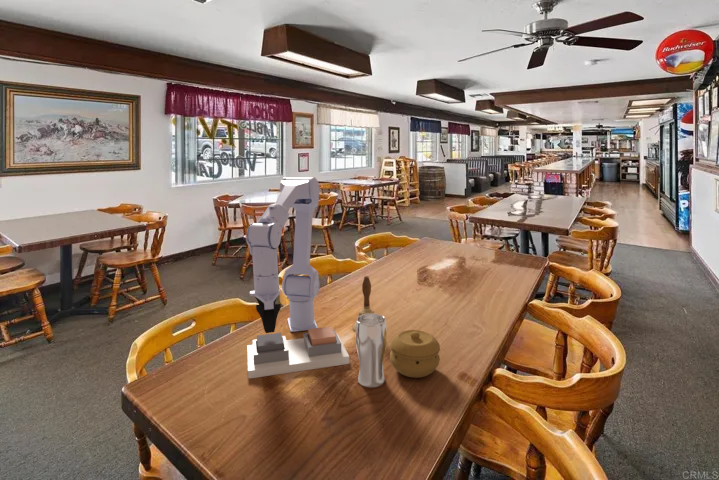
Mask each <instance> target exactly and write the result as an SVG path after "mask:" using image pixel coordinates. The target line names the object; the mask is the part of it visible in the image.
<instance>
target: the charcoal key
mask: <svg viewBox="0 0 719 480" xmlns="http://www.w3.org/2000/svg"><path fill="white" fill-rule="evenodd" d="M282 336H283V335H282V332H276V333H274V332H273V333H265V334H261V335H260V334H259V335H256V339H257V346H258V353H261V352H268V351H276V350H283V349H284V348H283V340H282Z"/></svg>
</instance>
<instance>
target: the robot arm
mask: <svg viewBox="0 0 719 480" xmlns="http://www.w3.org/2000/svg"><path fill="white" fill-rule="evenodd" d="M279 192H280V193H279V195H278V197H277V199H276V201H275V203H270V204H269V205H268V207H267V208H266V209H265V211H264V212H263V213H262V215H261V217H260V218H259V219H258V221H257V222H254V223H252V224H250V225H249V226H248V227H247V231H246V237H245V241H246V244H247V246H248V249H249V254H250V255H251V256H252V271H253V285H254V287H253V288H254V290H250V291H249V297H255V299H256V301H257V303H258V304H255V310H256V312H257V313H258V315H259V316H260V319H261V323H262V327H263V330H264V333H265V334H272V333H274V332H275V331H276V326H277V318H278V315H279V313H280V311H281V308H282V305H281V303H276V301H277V298H278V296H279V295H280V294H281V289H282V293H283V295H284V296H286V299H287V300H288V303H289V304H288V305H289V317H288V318H287V324H288V327H289V331H290V333H292V332H293V333H295V332H302V331H308V329H315V328H319V327H318V325H317V322H316V320H315V301H314V299H315V298H316V297H317V296H318V295H319V292H320V280H319V279H320V278H319V276H320V275H319V271H318V270H317V269H315V268H314V267H313V266H312V265H311V248H312V232H313V231H312V230H313V229H312V228H313V214H314V209H315V208H317V207H319V200H320V185H319V181H318V180H317V178H316V177H315V176H312V177H305V176H304V177H300V176H299V177H298V176H297V177H296V176H295V177H294V176H293V177H292V176H291V177H289V176H284V177H282V179H281V180H280V183H279ZM291 208H293V209H294V210H295V224H294V240H293V259H292V264H291V266H289V267H288V268H287V269H285V271H284V274H283V275H284V276H283V280H282V282H281V289H280V283H279V262H278V259H279V258H278V247H279V245H280V244H281V239H282V235H283V228H284V227H285V225H286V223H287V222H288V220H289V217H290V215H289V210H290V209H291Z"/></svg>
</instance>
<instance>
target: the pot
mask: <svg viewBox="0 0 719 480" xmlns="http://www.w3.org/2000/svg"><path fill="white" fill-rule="evenodd" d="M389 348H390V350H391V351H390V353H389V359H390V362H391V364H392V367H394V369H395V370H396V372H397V373H399V374H401V375H402V376H405V377H407V378H408V377H409V378H413V379H414V378H415V379H417V378H418V379H419V378H425V377H427V376H429V375H430V374H432V373H433V372H434V371H435V370H436V369H437V368H438V366H439V363H440V360H441V358H440V355H439V353H440V351H441V346H440V342H439V341H438V340H437V338H436V337H435V336H434V335H432V334H430V333H429V332H427V331H424V330H420V329H408V330H403V331H401V332H398V333H397V334H396V335H394V336H393V337H392V339H391V340H390V343H389Z"/></svg>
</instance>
